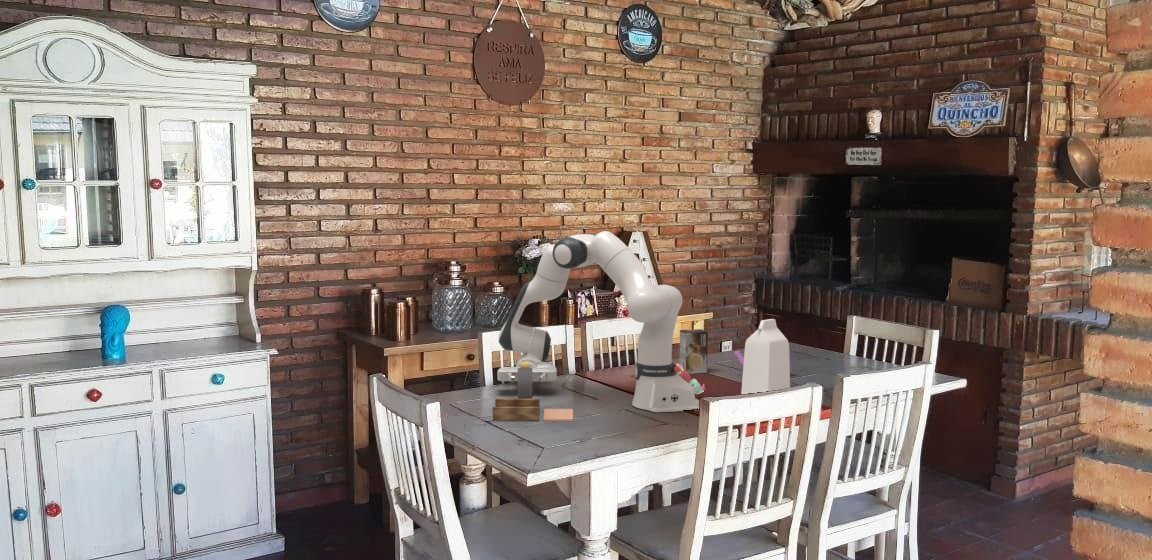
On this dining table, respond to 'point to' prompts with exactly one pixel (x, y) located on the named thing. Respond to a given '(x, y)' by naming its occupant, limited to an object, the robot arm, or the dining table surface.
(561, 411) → the terracotta tile
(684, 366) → the coffee box
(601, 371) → the dining table surface
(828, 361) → the dining table surface
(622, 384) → the dining table surface
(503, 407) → the guide channel
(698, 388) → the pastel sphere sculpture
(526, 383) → the grey tall block
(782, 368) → the milk
